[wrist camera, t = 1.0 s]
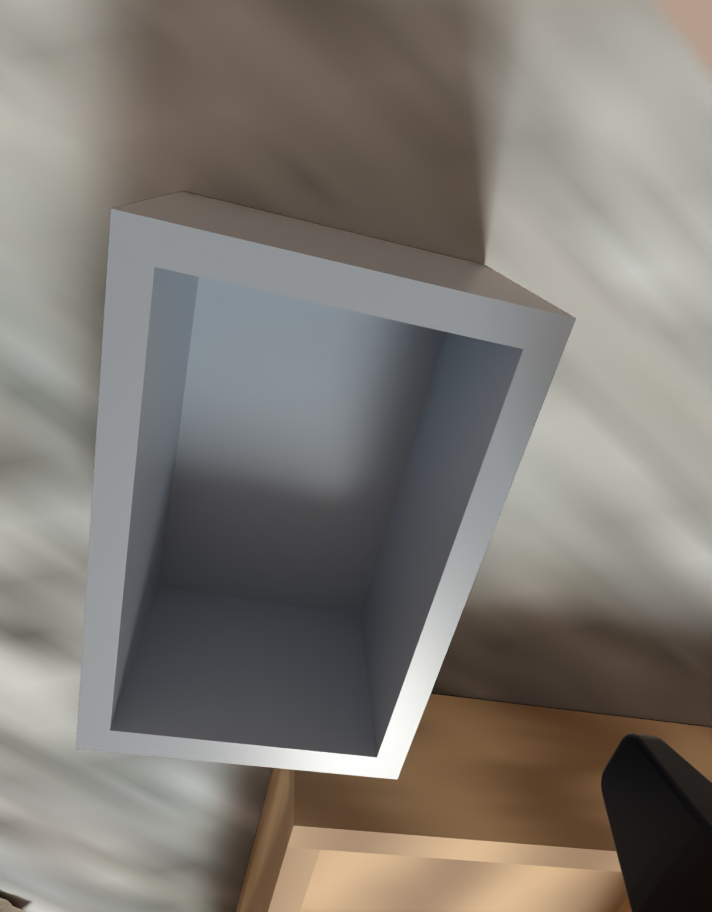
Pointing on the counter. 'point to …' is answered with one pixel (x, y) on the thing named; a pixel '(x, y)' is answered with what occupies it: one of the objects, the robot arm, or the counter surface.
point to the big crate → (458, 818)
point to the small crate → (292, 482)
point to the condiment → (8, 906)
